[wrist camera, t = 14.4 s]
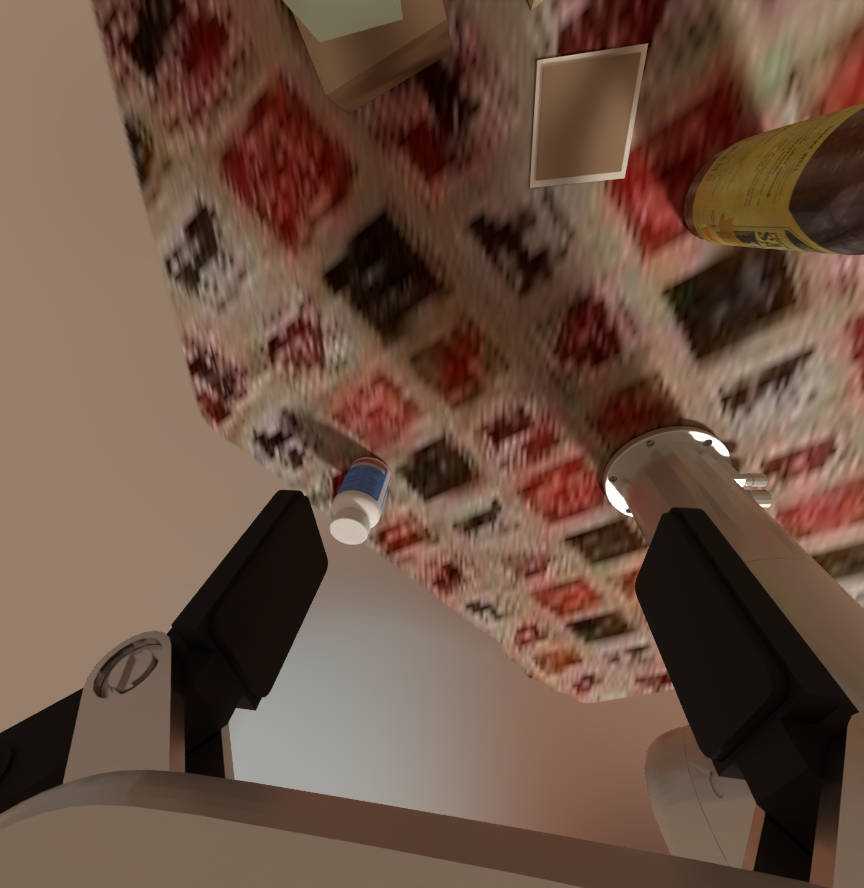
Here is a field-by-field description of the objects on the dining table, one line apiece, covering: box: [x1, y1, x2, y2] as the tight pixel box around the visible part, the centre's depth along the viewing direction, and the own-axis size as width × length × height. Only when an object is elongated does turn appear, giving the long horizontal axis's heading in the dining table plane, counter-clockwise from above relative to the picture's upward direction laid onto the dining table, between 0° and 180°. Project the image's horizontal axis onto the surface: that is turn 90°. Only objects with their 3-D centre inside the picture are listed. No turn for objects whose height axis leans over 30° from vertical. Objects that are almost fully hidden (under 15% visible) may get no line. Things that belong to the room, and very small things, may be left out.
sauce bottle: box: [683, 103, 864, 255], centre depth 17 cm, size 7×6×20 cm
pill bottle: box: [330, 457, 391, 545], centre depth 40 cm, size 6×5×10 cm
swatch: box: [530, 44, 648, 188], centre depth 24 cm, size 7×7×1 cm
